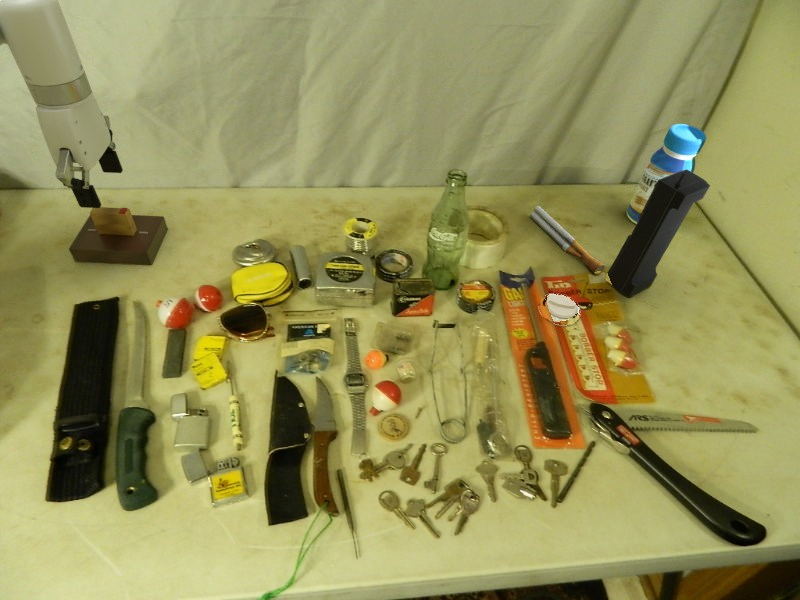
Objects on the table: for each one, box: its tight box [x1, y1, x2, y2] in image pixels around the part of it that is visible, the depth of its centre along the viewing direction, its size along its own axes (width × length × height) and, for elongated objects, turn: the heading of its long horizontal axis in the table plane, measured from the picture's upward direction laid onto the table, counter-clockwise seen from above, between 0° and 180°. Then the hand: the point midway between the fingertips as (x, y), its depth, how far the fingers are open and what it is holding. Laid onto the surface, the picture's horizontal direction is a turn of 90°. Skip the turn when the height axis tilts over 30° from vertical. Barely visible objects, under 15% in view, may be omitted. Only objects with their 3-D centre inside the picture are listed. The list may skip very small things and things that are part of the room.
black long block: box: [606, 169, 711, 298], centre depth 90 cm, size 8×6×25 cm
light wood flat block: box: [89, 206, 137, 236], centre depth 92 cm, size 6×2×5 cm, turn 91°
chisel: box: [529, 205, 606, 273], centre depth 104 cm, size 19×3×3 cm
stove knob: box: [537, 293, 581, 327], centre depth 92 cm, size 7×7×2 cm
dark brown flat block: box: [68, 214, 169, 266], centre depth 95 cm, size 13×10×3 cm
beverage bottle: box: [626, 123, 707, 225], centre depth 106 cm, size 8×8×20 cm
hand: (102, 188), depth 87 cm, fingers open, 9 cm apart
